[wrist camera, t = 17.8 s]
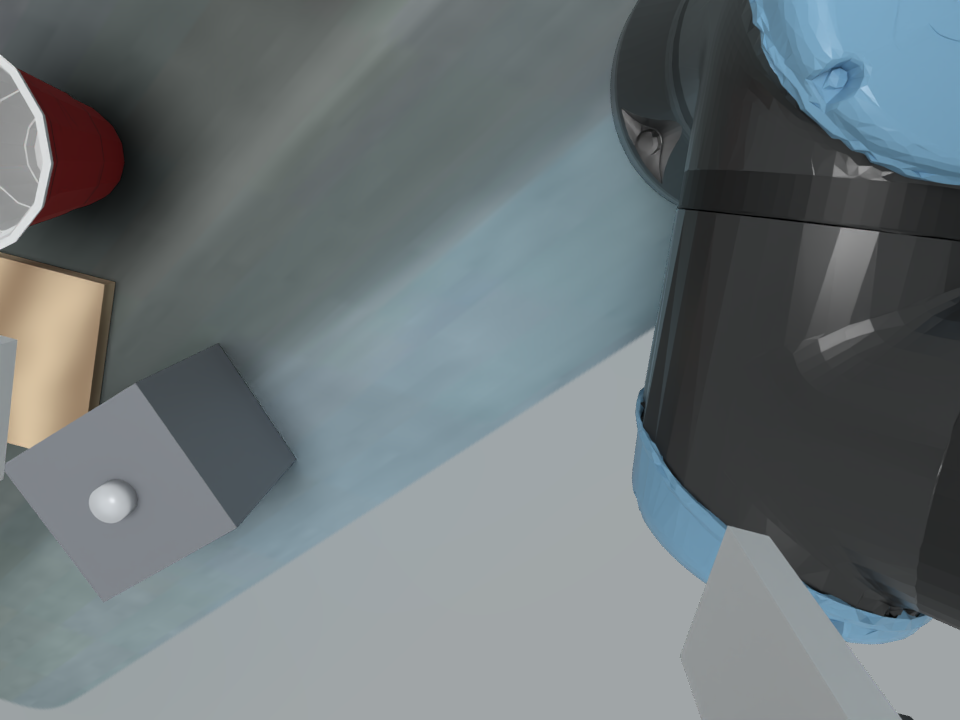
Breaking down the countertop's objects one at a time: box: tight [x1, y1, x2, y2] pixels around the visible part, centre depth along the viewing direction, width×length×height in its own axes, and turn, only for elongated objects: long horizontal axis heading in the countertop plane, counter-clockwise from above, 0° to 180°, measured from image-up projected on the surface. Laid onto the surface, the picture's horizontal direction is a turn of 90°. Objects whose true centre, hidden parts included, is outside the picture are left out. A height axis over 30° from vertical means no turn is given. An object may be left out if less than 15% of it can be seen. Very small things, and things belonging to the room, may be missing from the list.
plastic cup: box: [0, 54, 124, 249], centre depth 38 cm, size 11×11×12 cm
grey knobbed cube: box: [4, 343, 296, 602], centre depth 42 cm, size 9×9×11 cm
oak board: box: [0, 252, 115, 448], centre depth 46 cm, size 12×12×1 cm
